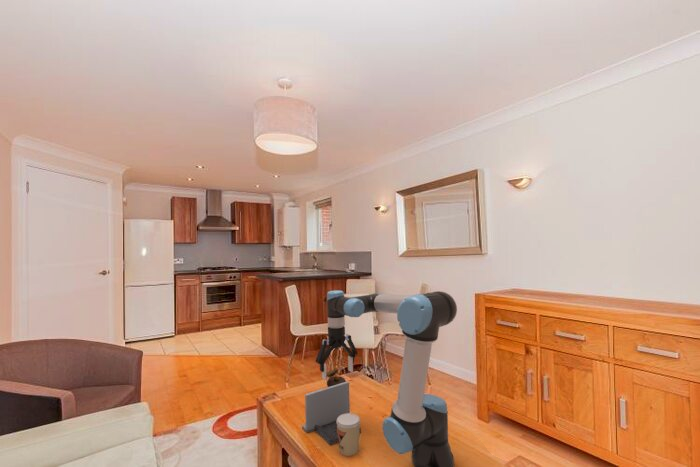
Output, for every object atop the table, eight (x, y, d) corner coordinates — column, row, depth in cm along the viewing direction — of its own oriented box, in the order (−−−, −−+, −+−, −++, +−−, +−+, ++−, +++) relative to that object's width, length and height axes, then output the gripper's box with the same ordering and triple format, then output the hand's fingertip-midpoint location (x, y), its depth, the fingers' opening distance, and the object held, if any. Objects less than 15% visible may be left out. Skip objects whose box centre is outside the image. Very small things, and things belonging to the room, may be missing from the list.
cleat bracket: (360, 433, 143) (360, 428, 143) (330, 445, 134) (330, 440, 134) (343, 419, 154) (343, 415, 154) (314, 430, 146) (314, 425, 146)
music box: (334, 417, 156) (330, 373, 157) (318, 411, 163) (315, 369, 165) (356, 405, 167) (352, 364, 169) (340, 400, 174) (337, 361, 176)
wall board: (349, 417, 156) (349, 382, 156) (307, 433, 144) (306, 395, 144) (343, 412, 160) (343, 378, 160) (302, 428, 148) (301, 391, 148)
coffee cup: (334, 445, 135) (333, 415, 135) (356, 440, 137) (355, 411, 138) (340, 459, 126) (340, 427, 126) (364, 454, 128) (363, 422, 129)
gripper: (354, 320, 158) (356, 366, 157) (306, 329, 144) (308, 379, 143) (364, 323, 151) (365, 370, 151) (315, 332, 138) (316, 385, 137)
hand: (337, 375), depth 147 cm, fingers open, 13 cm apart
